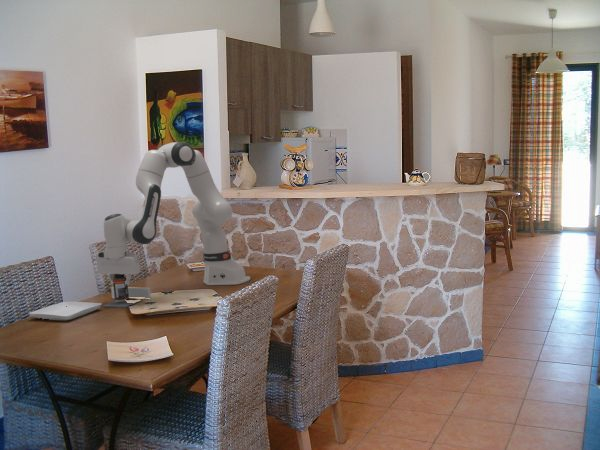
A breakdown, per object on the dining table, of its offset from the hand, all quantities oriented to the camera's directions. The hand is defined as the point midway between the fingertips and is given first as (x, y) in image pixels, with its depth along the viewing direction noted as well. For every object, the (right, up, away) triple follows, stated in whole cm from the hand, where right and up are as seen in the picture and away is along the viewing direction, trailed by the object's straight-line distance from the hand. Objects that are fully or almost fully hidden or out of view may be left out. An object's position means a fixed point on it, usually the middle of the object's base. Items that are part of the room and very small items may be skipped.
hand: (120, 284), depth 311 cm
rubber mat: (+1, -9, +1) cm, 9 cm away
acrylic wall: (+2, -7, +10) cm, 13 cm away
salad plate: (-19, -12, -12) cm, 26 cm away
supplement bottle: (0, -6, +1) cm, 7 cm away
